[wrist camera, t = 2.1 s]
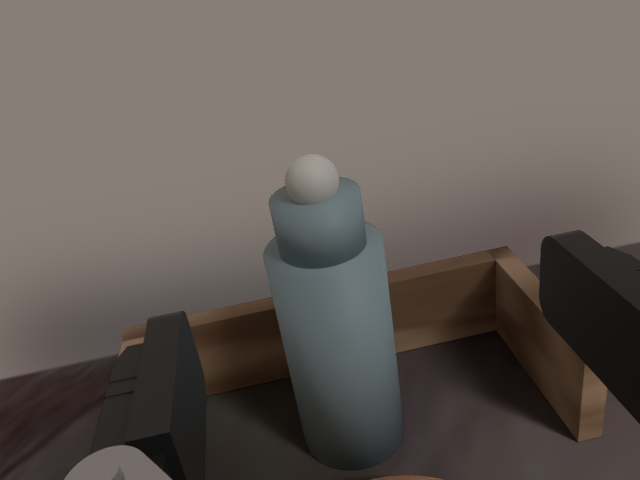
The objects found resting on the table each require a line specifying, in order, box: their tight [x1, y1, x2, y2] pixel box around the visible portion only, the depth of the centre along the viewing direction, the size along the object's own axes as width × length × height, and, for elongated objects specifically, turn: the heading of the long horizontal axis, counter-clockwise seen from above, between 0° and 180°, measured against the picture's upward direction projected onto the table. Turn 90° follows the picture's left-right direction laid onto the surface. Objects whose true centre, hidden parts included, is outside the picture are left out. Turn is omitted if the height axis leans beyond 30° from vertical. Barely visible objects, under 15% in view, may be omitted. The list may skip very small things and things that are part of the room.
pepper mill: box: [263, 154, 404, 470], centre depth 26 cm, size 5×5×15 cm
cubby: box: [119, 246, 607, 442], centre depth 30 cm, size 10×22×5 cm, turn 100°
